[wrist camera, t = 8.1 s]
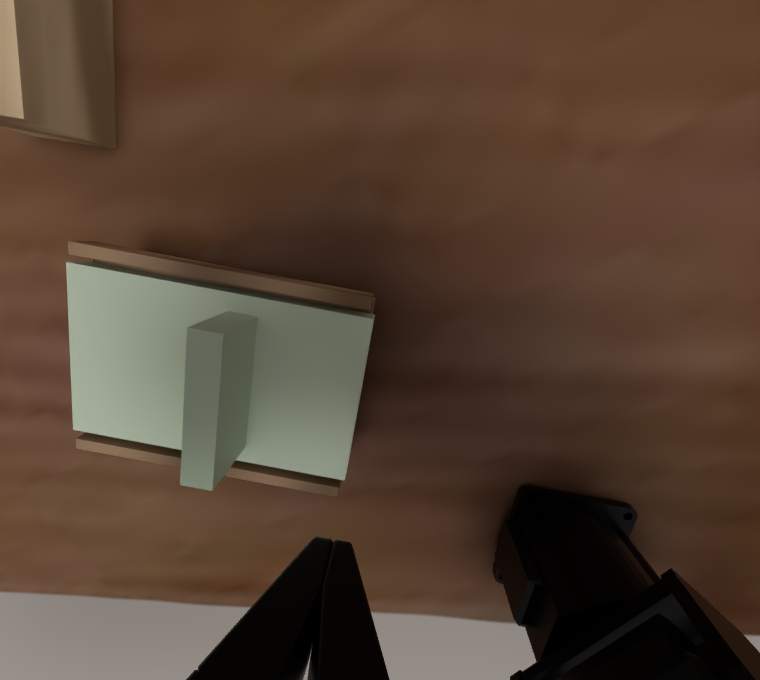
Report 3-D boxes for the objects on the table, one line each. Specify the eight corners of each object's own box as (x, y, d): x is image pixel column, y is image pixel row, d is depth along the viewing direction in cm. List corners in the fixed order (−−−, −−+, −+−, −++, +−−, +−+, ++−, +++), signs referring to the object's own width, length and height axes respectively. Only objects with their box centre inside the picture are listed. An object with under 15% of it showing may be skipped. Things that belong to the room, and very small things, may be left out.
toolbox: (377, 285, 18) (372, 297, 14) (349, 447, 21) (337, 497, 17) (140, 241, 18) (67, 240, 14) (139, 408, 21) (76, 448, 17)
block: (113, -29, 16) (2, -136, 11) (118, 150, 18) (23, 118, 13) (21, -44, 16) (-127, -156, 11) (35, 136, 18) (-87, 101, 13)
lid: (375, 314, 16) (367, 338, 12) (347, 467, 18) (333, 531, 14) (86, 260, 16) (-16, 266, 12) (91, 419, 18) (4, 469, 14)
